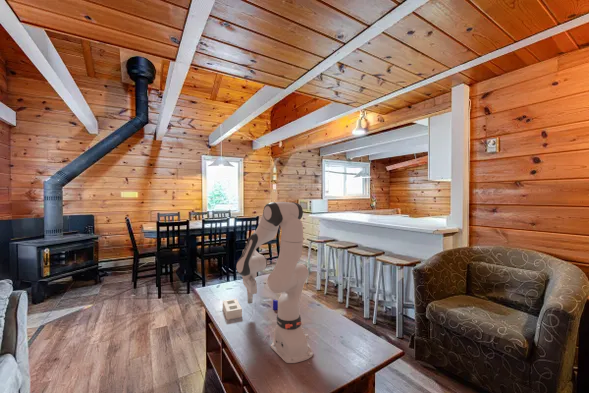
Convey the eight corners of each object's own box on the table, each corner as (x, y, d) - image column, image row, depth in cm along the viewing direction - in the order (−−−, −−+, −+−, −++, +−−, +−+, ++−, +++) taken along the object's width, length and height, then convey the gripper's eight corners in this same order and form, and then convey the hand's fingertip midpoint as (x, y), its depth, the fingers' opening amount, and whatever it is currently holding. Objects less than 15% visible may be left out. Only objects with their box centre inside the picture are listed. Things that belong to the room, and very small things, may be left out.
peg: (253, 303, 156) (252, 286, 156) (248, 303, 155) (247, 287, 155) (251, 301, 159) (251, 285, 159) (247, 302, 157) (246, 285, 157)
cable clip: (282, 302, 177) (282, 293, 177) (288, 304, 174) (288, 295, 174) (271, 308, 167) (271, 299, 167) (276, 310, 165) (276, 301, 164)
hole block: (241, 316, 156) (242, 308, 156) (226, 319, 152) (226, 311, 152) (236, 306, 170) (236, 298, 170) (222, 308, 167) (222, 300, 166)
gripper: (259, 277, 149) (259, 301, 149) (250, 269, 167) (250, 290, 167) (248, 279, 146) (249, 303, 146) (240, 270, 165) (241, 292, 165)
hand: (250, 296), depth 157 cm, fingers closed on peg, 3 cm apart
